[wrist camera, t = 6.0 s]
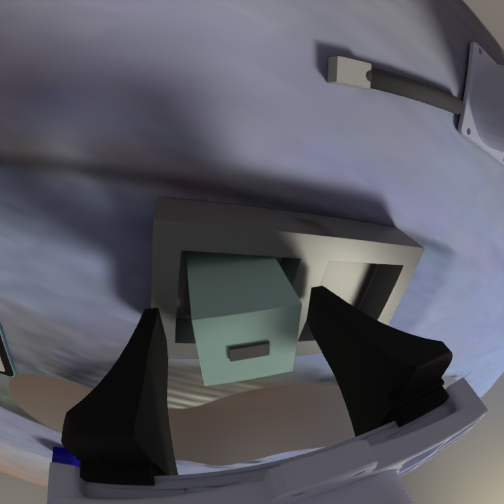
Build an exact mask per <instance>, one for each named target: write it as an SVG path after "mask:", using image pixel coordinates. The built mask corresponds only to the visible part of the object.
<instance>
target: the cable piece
mask: <svg viewBox="0 0 504 504" xmlns="http://www.w3.org/2000/svg"><path fill="white" fill-rule="evenodd" d="M327 82H328V83H334V84H340V85H346V86H351V87H356V88H366V89H370V88H373V89H377V90H381V91H385V92H389V93H393V94H396V95H400V96H404V97H407V98H410V99H414V100H417V101H420V102H423V103H426V104H429V105H432V106H435V107H438V108H441V109H444V110H447V111H449V112H452V113H455V114H461V113H462V112H463V111H464V104H463V102H462V100H461V99H459V98H457V97H455V96H452V95H450V94H448V93H445V92H443V91H441V90H438V89H436V88H433V87H431V86H428V85H425V84H423V83H420V82H417V81H414V80H411V79H408V78H405V77H402V76H399V75H396V74H393V73H390V72H386V71H383V70H379V69H376V68H372V67H371V64H370V63H366V62H362V61H358V60H354V59H350V58H345V57H341V56H334V57H329V58H328V78H327Z"/></svg>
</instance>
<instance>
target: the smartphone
mask: <svg viewBox="0 0 504 504" xmlns="http://www.w3.org/2000/svg"><path fill="white" fill-rule="evenodd" d="M4 335H5V334H4V332H3V328H2V325H1V323H0V375H3V376H6V377H9V378H14V377H15V376H16V373H17V371H16V368H15V366H14V364H13V361H12V357H11V354H10V352H9V348H8V345H7V342H6V338H5V336H4Z"/></svg>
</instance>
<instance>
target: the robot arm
mask: <svg viewBox="0 0 504 504" xmlns="http://www.w3.org/2000/svg"><path fill="white" fill-rule="evenodd" d="M463 104H464V111H463V112H462V113H461V115H460V119H459V124H458V131H459V133H460V134H461V135H462V136H464V137H465V138H467V139H468V140H470V141H471V142H472V143H474V144H475V145H477V146H478V147H479V148H481V149H482V150H484V151H485V152H486V153H488V154H489V155H490V156H492V157H493V158H494V159H495V160H497V161H498V162H499V163H501V164H502V165H503V166H504V65H498V64H497V63H496V62H495V61H494V60H493V59H492V58H491V57H490V56H489V55H488V54H487V53H486V52H485V51H484V50H483V49H482V48H481V47H480V46H479V45H478V44H477V43H476V42H471V43H470V52H469V62H468V71H467V79H466V86H465V92H464V98H463ZM307 322H308V324H309V327H310V330H311V332H312V335H313V337H314V339H315V341H316V342H317V344H318V346H319V348H320V350H321V351H322V353H323V355H324V357H325V359H326V360H327V362H328V364H329V366H330V367H331V369H332V371H333V373H334V375H335V378H336V380H337V382H338V385H339V387H340V390H341V392H342V395H343V398H344V401H345V403H346V406H347V409H348V412H349V416H350V419H351V422H352V425H353V429H354V433H355V437H354V438H352V439H349V440H346V441H343V442H340V443H338V444H335V445H332V446H329V447H326V448H322V449H319V450H316V451H313V452H309V453H306V454H302V455H298V456H295V457H291V458H287V459H283V460H279V461H274V462H270V463H265V464H260V465H255V466H250V467H244V468H238V469H232V470H225V471H217V472H209V473H200V474H188V475H178V472H177V467H176V463H175V458H174V452H173V446H172V440H171V433H170V427H169V417H168V408H167V379H168V349H167V339H166V335H165V331H164V327H163V323H162V319H161V316H160V311H159V308H150V309H145V310H144V312H143V314H142V316H141V319H140V321H139V323H138V325H137V327H136V329H135V331H134V333H133V335H132V336H131V338H130V340H129V342H128V344H127V345H126V347H125V349H124V350H123V352H122V354H121V355H120V357H119V358H118V360H117V361H116V363H115V364H114V366H113V367H112V368H111V370H110V371H109V372H108V373H107V375H106V376H105V377H104V378H103V379H102V381H101V382H100V383H99V384H98V385H97V386H96V387H95V388H94V389H93V390H92V391H91V392H90V393H89V394H88V395H87V396H86V397H85V398H84V399H83V400H82V401H80V402H79V403H78V404H77V405H75V406H74V407H73V408H72V409H70V410H69V411H68V412H67V413H66V416H65V420H64V424H63V431H62V438H61V442H62V445H63V446H64V447H65V448H66V449H67V450H68V451H69V452H70V453H71V454H73V455H74V456H75V457H76V458H77V459H79V460H80V468H79V467H77V466H74V465H69V464H62V463H56V462H50V468H49V480H48V499H47V500H48V501H47V504H413V503H412V501H411V499H410V497H409V495H408V493H407V491H406V489H405V487H404V485H403V483H402V481H401V480H400V478H399V477H401V476H403V475H405V474H406V473H408V472H410V471H411V470H413V469H415V468H416V467H418V466H420V465H421V464H423V463H424V462H426V461H428V460H429V459H431V458H432V457H434V456H435V455H437V454H438V453H440V452H441V451H443V450H444V449H445V448H447V447H448V446H449V445H451V444H453V443H454V442H455V441H457V440H458V439H459V438H461V437H462V436H463V435H464V434H466V433H467V432H468V431H469V430H470V429H471V428H472V427H473V426H474V425H475V424H476V423H477V422H478V421H479V420H480V419H481V418H482V417H483V416H484V415H485V414H486V412H487V411H488V409H487V408H486V406H485V405H484V404H483V402H482V401H481V400H480V398H479V397H478V396H477V394H476V393H475V392H474V390H473V389H472V388H471V386H470V385H469V384H468V383H467V381H466V380H465V379H464V378H461V379H460V380H458V381H457V382H455V383H453V384H452V385H450V386H449V387H448V388H447V389H446V390H445V389H444V388H443V386H442V385H443V384H444V381H443V380H442V378H441V377H442V375H443V374H444V372H445V371H446V369H447V368H448V366H449V365H450V363H451V360H452V357H453V355H452V352H451V351H450V350H449V349H448V348H447V346H446V345H445V344H444V343H443V342H442V341H436V340H431V339H426V338H422V337H418V336H415V335H412V334H408V333H405V332H403V331H400V330H397V329H395V328H392V327H390V326H388V325H386V324H384V323H382V322H380V321H377V320H376V319H374V318H372V317H370V316H368V315H367V314H365V313H363V312H362V311H360V310H358V309H357V308H355V307H354V306H352V305H351V304H349V303H348V302H346V301H345V300H343V299H342V298H340V297H339V296H337V295H336V294H335V293H333V292H332V291H330V290H329V289H327V288H326V287H324V286H317V287H311V293H310V300H309V307H308V313H307Z"/></svg>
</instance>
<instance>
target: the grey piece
mask: <svg viewBox="0 0 504 504" xmlns="http://www.w3.org/2000/svg"><path fill="white" fill-rule="evenodd" d="M186 251H200V252H214V253H229V254H243V255H257V256H272V257H275V258H276V260H277V262H278V263H279V265H280V267H281V268H282V270H283V272H284V273H285V275H286V277H287V279H288V280H289V282H290V284H291V285H292V287H293V289H294V291H295V292H296V294H297V296H298V298H299V299H300V301H301V303H302V309H301V317H300V324H299V331H298V338H297V345H296V352H295V356H297V355H309V354H320V353H322V351H321V350H320V348H319V346H318V344H317V342H316V341H315V339H314V337H313V335H312V332H311V330H310V327H309V324H308V322H307V313H308V307H309V300H310V293H311V287H317V286H324V287H326V288H327V289H329V290H330V291H332V292H333V293H335V294H336V295H337V296H339V297H340V298H342V299H343V300H345V301H346V302H348V303H349V304H351V305H352V306H354V307H355V308H357V309H358V310H360V311H362V312H363V313H365V314H367V315H368V316H370V317H372V318H374V319H376V320H377V321H380V322H382V323H384V324H386V325H388V323H389V321H390V320H391V318H392V316H393V314H394V312H395V310H396V308H397V306H398V304H399V302H400V300H401V298H402V296H403V294H404V292H405V290H406V288H407V286H408V284H409V282H410V280H411V278H412V276H413V273H414V271H415V269H416V267H417V265H418V262H419V260H420V258H421V255H422V253H423V251H424V248H423V247H422V246H421V245H420V244H418V243H417V242H416V241H414V240H413V239H412V238H410V237H409V236H407V235H406V234H405V233H403V232H402V231H401V230H399V229H398V228H396V227H390V226H385V225H379V224H373V223H367V222H361V221H354V220H348V219H342V218H335V217H328V216H322V215H315V214H308V213H300V212H293V211H285V210H278V209H270V208H261V207H253V206H244V205H236V204H226V203H217V202H207V201H197V200H186V199H175V198H163V197H158V202H157V206H156V211H155V215H154V220H153V236H152V258H151V308H159V311H160V316H161V319H162V323H163V327H164V331H165V335H166V339H167V349H168V358H180V359H199V356H198V351H197V346H196V341H195V335H194V330H193V324H192V318H191V307H190V296H189V284H188V271H187V256H186Z"/></svg>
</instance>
